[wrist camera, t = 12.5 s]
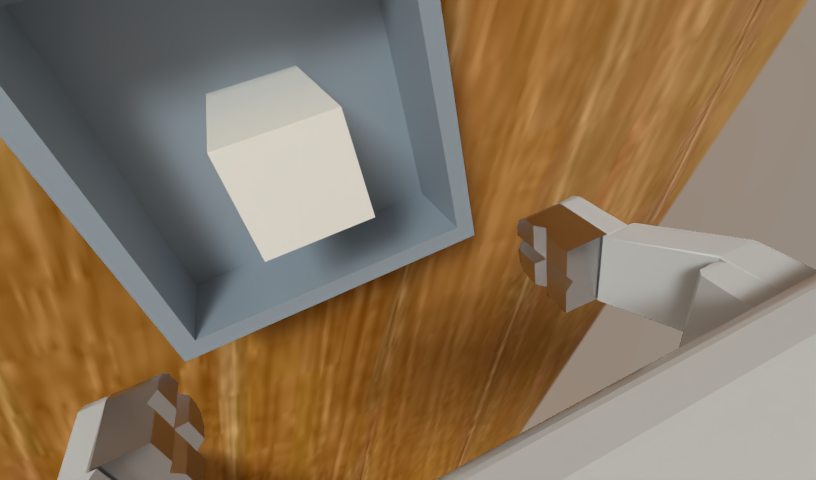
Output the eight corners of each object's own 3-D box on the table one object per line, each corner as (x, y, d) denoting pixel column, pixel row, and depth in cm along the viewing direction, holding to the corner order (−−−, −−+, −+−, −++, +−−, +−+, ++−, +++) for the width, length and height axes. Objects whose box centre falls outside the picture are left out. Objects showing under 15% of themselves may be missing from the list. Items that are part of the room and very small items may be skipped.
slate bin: (368, -112, 20) (419, -141, 15) (431, 194, 30) (474, 235, 25) (-32, -17, 17) (-126, -17, 12) (188, 293, 26) (185, 361, 22)
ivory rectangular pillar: (296, 65, 22) (341, 106, 14) (325, 148, 24) (375, 217, 17) (205, 93, 21) (207, 152, 14) (246, 176, 23) (264, 262, 16)
